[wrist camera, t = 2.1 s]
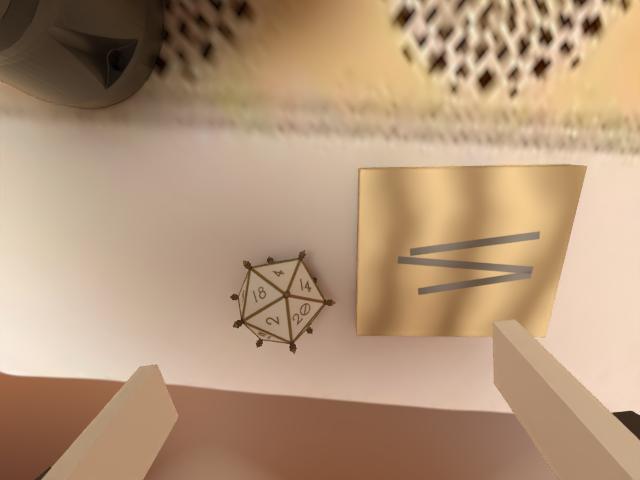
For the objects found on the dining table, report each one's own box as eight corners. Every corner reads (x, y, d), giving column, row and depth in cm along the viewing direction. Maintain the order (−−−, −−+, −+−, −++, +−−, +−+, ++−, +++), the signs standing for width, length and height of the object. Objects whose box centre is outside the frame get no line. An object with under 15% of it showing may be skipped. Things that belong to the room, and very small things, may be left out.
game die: (292, 249, 33) (310, 218, 24) (331, 317, 32) (366, 313, 23) (215, 289, 30) (202, 272, 21) (256, 365, 29) (260, 384, 20)
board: (355, 323, 32) (357, 335, 30) (358, 168, 27) (360, 169, 25) (532, 325, 31) (545, 337, 29) (568, 164, 26) (587, 166, 24)
